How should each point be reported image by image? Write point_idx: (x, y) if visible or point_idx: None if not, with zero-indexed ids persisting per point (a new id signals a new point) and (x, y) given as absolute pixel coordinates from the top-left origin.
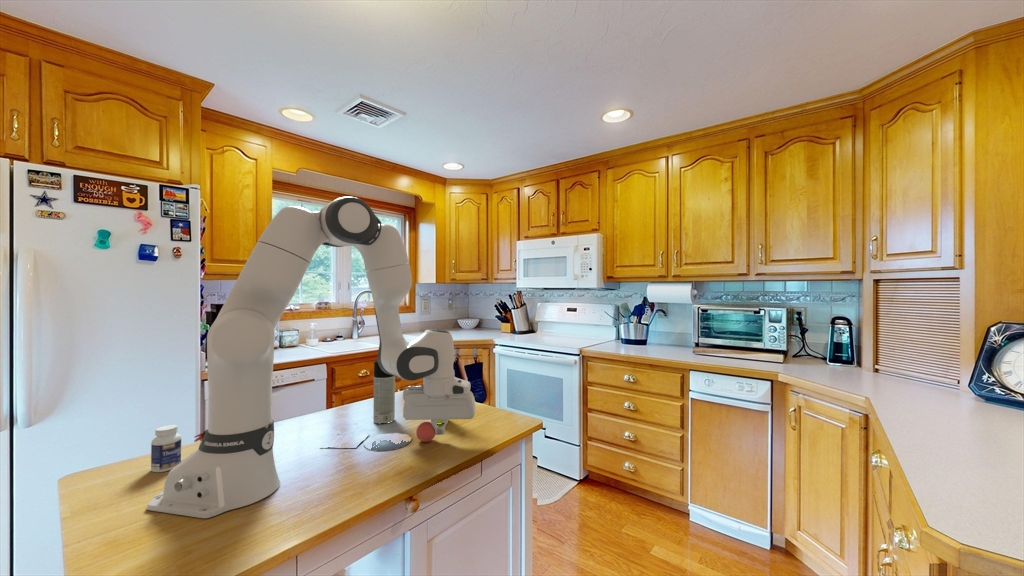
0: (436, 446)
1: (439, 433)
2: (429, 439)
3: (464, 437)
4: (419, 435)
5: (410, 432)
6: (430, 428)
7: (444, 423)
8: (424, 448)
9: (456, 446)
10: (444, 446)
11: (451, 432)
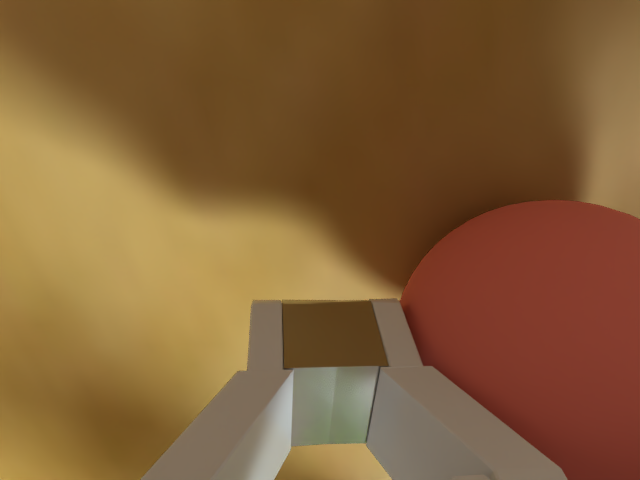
0: (342, 109)
1: (328, 306)
2: (468, 222)
3: (49, 363)
4: None
5: None
6: (525, 351)
7: (217, 477)
8: (520, 34)
9: (29, 105)
10: (221, 107)
11: None
